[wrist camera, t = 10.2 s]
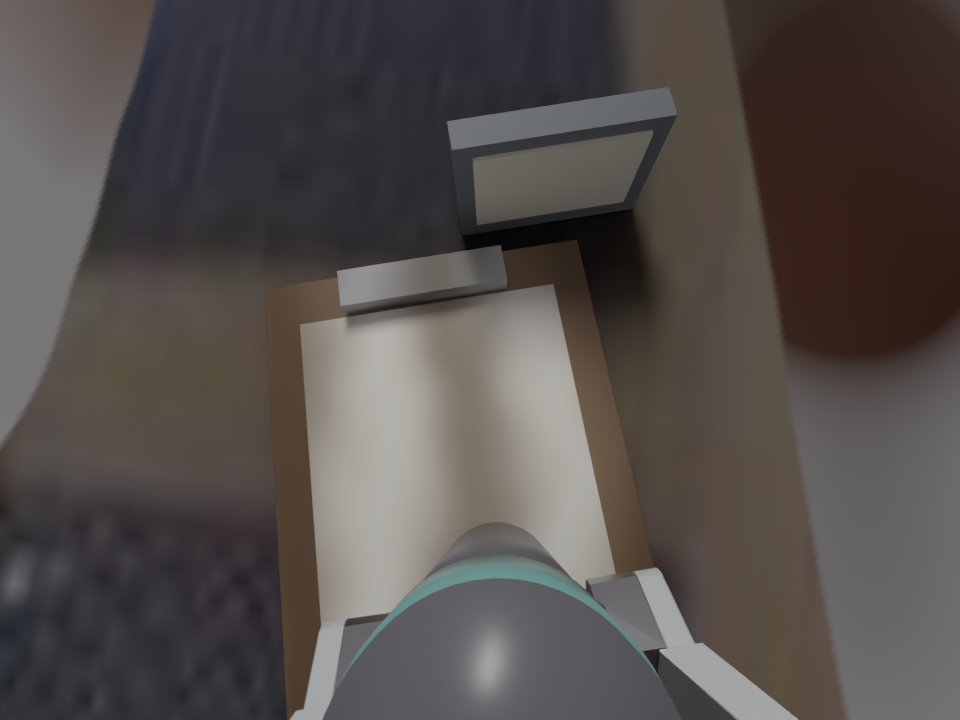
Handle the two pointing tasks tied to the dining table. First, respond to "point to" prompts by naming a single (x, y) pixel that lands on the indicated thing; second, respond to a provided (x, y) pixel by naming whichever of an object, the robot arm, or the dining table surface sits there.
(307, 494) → the clipboard
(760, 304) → the dining table surface
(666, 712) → the microphone
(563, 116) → the picture frame
